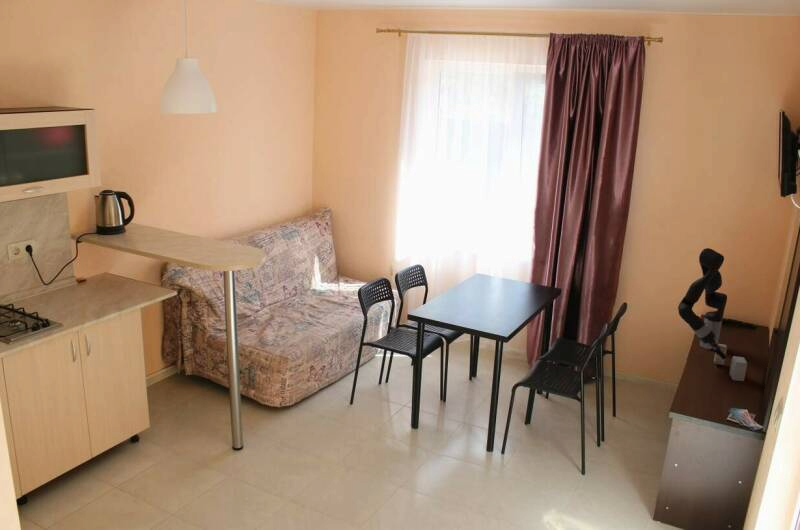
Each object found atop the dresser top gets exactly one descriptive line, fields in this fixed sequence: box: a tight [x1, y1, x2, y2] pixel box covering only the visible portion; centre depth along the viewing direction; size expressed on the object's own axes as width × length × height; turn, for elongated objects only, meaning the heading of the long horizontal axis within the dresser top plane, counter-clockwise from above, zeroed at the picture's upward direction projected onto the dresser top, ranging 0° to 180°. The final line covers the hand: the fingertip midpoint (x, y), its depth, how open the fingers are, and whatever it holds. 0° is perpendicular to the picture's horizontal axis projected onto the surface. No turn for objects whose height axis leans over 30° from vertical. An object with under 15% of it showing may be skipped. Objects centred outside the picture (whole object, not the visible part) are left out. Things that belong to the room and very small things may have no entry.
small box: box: [729, 355, 748, 382], centre depth 376 cm, size 8×6×10 cm
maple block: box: [713, 343, 728, 366], centre depth 389 cm, size 4×4×10 cm
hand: (723, 356), depth 389 cm, fingers closed on maple block, 4 cm apart
